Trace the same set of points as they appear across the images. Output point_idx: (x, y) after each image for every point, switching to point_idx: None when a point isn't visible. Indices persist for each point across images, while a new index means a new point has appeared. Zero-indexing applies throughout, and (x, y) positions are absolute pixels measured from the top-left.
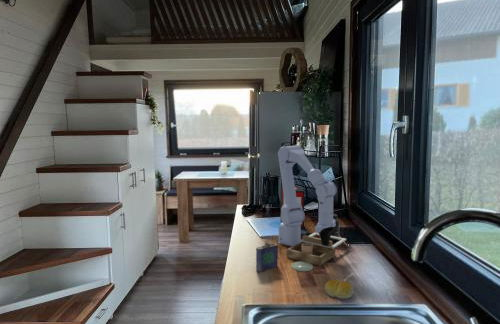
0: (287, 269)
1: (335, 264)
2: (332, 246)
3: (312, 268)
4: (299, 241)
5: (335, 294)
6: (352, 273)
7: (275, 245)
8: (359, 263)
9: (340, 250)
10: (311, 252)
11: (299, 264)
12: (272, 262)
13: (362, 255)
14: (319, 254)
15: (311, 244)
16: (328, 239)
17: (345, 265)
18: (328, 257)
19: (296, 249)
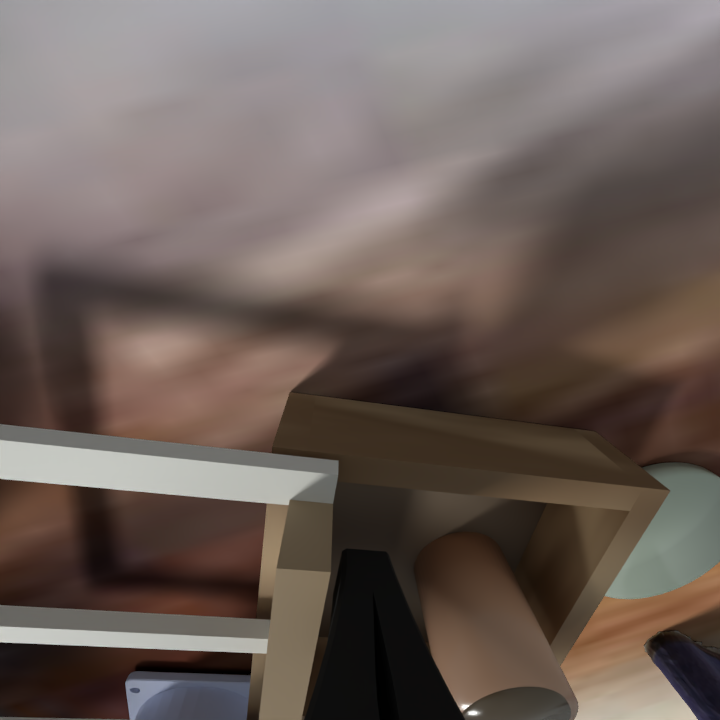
0: (687, 584)
1: (502, 331)
2: (310, 491)
3: (682, 469)
4: (193, 711)
5: None
6: (714, 84)
7: None
8: (365, 58)
9: (79, 389)
10: (504, 592)
11: (638, 563)
12: None
13: (35, 77)
14: (341, 516)
15: (507, 695)
16: (402, 660)
17: (496, 226)
18: (454, 431)
19: None
